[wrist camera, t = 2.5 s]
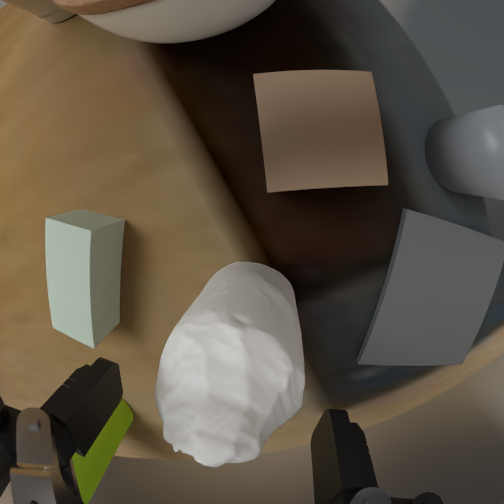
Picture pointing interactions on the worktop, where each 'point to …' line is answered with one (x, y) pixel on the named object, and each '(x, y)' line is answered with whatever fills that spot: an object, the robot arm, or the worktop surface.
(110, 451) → the soap dispenser
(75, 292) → the sage bar
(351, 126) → the walnut cube
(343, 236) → the worktop surface
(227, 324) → the white tall lump
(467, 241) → the mat
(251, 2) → the lidded bowl
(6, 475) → the robot arm
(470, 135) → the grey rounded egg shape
